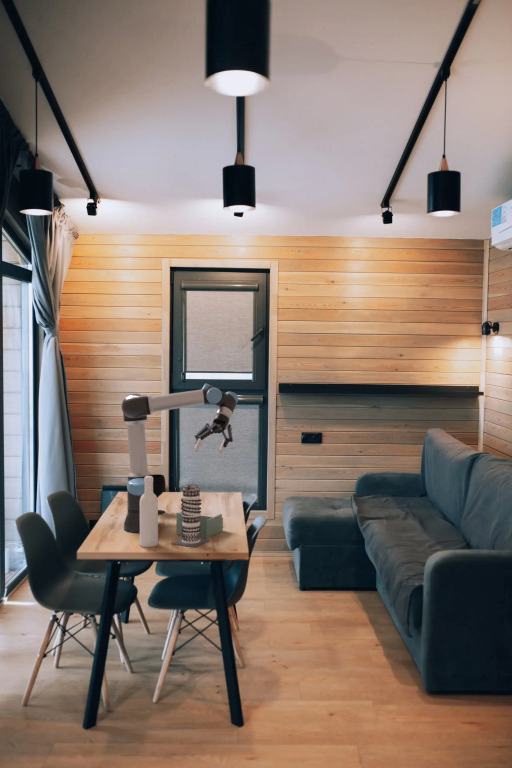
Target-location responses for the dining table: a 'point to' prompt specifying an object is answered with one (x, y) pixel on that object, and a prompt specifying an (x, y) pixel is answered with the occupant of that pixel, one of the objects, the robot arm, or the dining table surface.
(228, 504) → the dining table surface
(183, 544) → the mat
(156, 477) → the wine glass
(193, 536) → the decorative candle
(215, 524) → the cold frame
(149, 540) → the bottle
